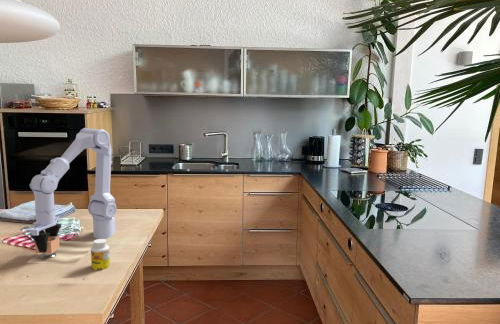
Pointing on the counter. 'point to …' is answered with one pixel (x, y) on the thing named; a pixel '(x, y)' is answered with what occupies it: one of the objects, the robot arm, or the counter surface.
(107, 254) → the supplement bottle
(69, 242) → the beige base plate
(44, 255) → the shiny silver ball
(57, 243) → the orange hollow cube
